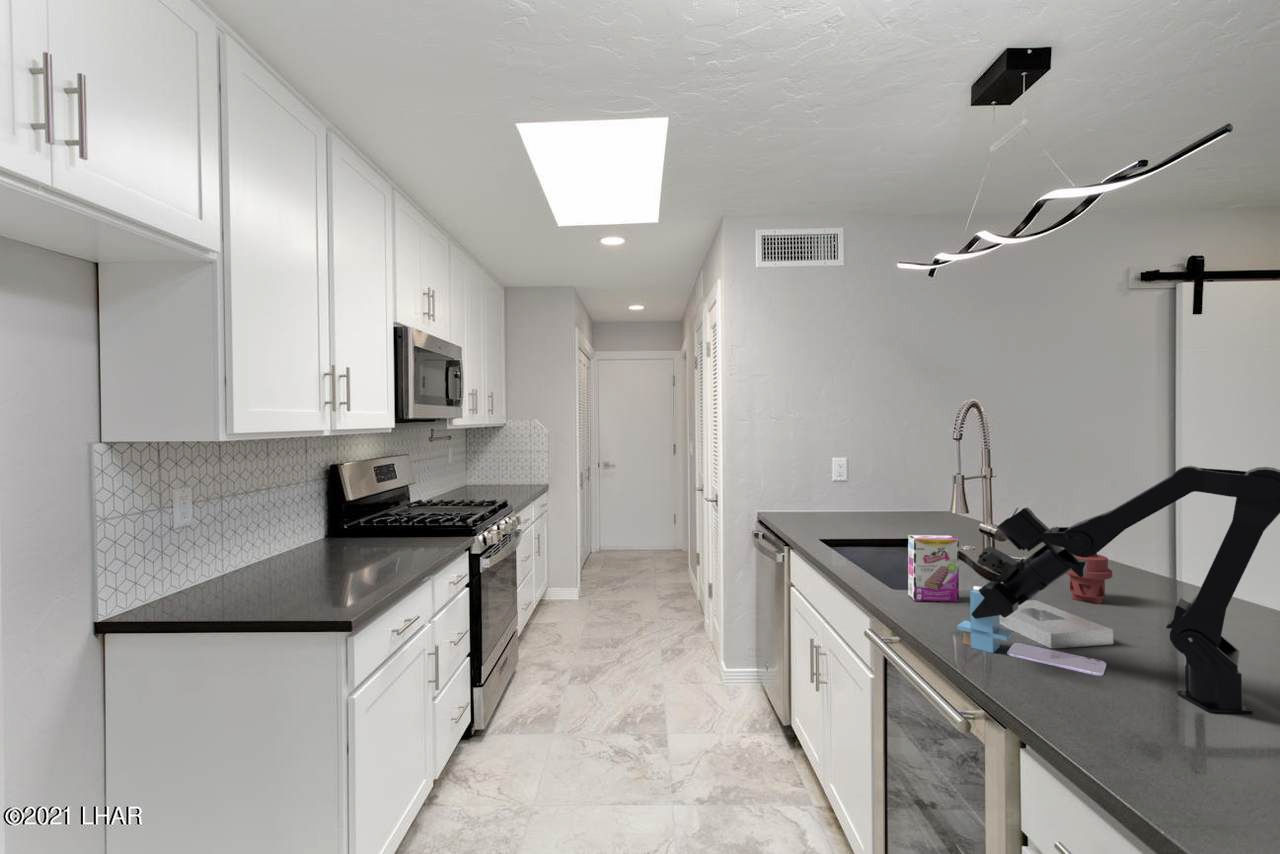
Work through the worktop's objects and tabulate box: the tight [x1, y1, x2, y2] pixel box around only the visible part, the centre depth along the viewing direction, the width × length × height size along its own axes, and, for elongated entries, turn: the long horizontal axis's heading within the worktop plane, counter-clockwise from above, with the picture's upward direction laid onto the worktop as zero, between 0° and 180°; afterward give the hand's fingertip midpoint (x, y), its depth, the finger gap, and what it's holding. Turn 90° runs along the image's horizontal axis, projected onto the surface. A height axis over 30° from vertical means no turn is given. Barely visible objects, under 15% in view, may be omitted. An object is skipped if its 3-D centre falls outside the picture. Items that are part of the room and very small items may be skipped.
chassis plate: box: [999, 599, 1114, 650], centre depth 126 cm, size 20×14×3 cm
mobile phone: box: [1006, 642, 1107, 677], centre depth 111 cm, size 8×1×15 cm
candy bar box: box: [907, 534, 960, 603], centre depth 148 cm, size 11×5×16 cm, turn 84°
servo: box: [956, 585, 1015, 654], centre depth 117 cm, size 9×4×12 cm, turn 42°
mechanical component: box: [1065, 552, 1113, 605], centre depth 146 cm, size 12×10×10 cm
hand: (977, 613), depth 118 cm, fingers closed on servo, 4 cm apart
